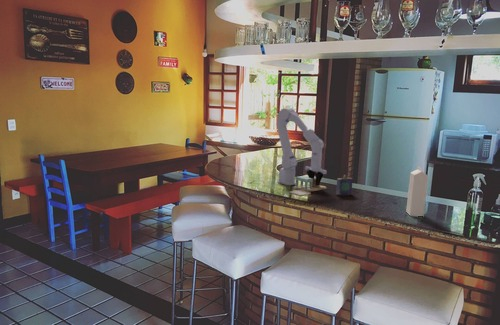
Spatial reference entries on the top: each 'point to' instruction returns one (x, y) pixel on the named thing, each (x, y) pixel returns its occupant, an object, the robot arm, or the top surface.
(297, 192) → the pad
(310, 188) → the board
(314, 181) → the block
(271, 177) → the top surface
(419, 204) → the milk
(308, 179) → the cover
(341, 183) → the flask
